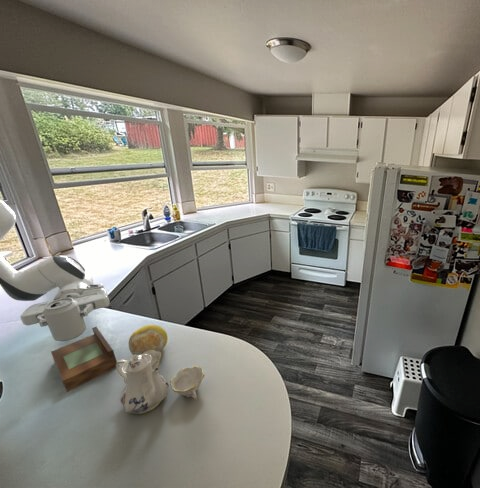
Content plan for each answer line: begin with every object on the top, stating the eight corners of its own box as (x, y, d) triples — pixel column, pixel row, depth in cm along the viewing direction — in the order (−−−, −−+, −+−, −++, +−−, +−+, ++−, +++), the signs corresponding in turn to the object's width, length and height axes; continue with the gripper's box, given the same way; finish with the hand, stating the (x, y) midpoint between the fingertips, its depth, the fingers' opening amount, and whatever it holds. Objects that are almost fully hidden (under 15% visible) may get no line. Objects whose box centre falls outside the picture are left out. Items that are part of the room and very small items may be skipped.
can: (63, 329, 81) (51, 297, 77) (92, 325, 84) (81, 294, 79) (48, 345, 75) (33, 311, 71) (79, 340, 77) (66, 307, 73)
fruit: (130, 351, 87) (124, 328, 84) (166, 337, 94) (161, 315, 90) (134, 369, 80) (127, 344, 77) (172, 353, 87) (167, 330, 83)
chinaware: (216, 385, 77) (214, 338, 73) (171, 436, 62) (165, 380, 58) (145, 364, 84) (140, 320, 80) (88, 404, 68) (78, 352, 64)
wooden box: (67, 391, 72) (59, 374, 70) (54, 361, 82) (47, 345, 80) (118, 365, 81) (112, 349, 79) (101, 341, 91) (96, 326, 89)
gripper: (25, 299, 80) (8, 322, 69) (108, 282, 91) (104, 300, 81) (32, 315, 82) (17, 340, 72) (112, 297, 93) (109, 316, 83)
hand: (64, 319), depth 76 cm, fingers closed on can, 7 cm apart
